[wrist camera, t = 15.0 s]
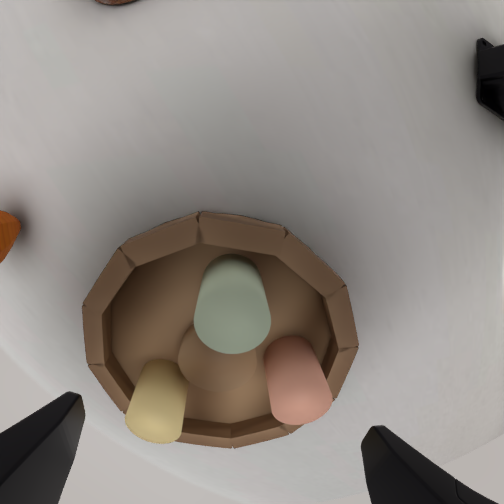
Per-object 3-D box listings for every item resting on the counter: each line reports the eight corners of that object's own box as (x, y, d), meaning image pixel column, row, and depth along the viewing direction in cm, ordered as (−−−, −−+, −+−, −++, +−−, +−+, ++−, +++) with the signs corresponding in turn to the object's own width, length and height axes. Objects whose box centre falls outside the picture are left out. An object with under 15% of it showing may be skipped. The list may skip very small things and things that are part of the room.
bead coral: (319, 337, 21) (341, 383, 16) (305, 377, 22) (321, 425, 17) (269, 332, 20) (279, 380, 15) (258, 373, 21) (265, 423, 16)
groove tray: (374, 241, 20) (391, 252, 17) (304, 431, 25) (309, 450, 22) (101, 193, 18) (84, 198, 15) (104, 404, 23) (96, 423, 20)
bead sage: (266, 259, 19) (278, 294, 14) (254, 311, 20) (261, 358, 15) (207, 248, 18) (199, 281, 13) (198, 302, 19) (189, 347, 14)
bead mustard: (190, 363, 21) (182, 413, 16) (186, 399, 22) (180, 447, 17) (141, 354, 20) (123, 401, 15) (141, 390, 21) (126, 436, 16)
